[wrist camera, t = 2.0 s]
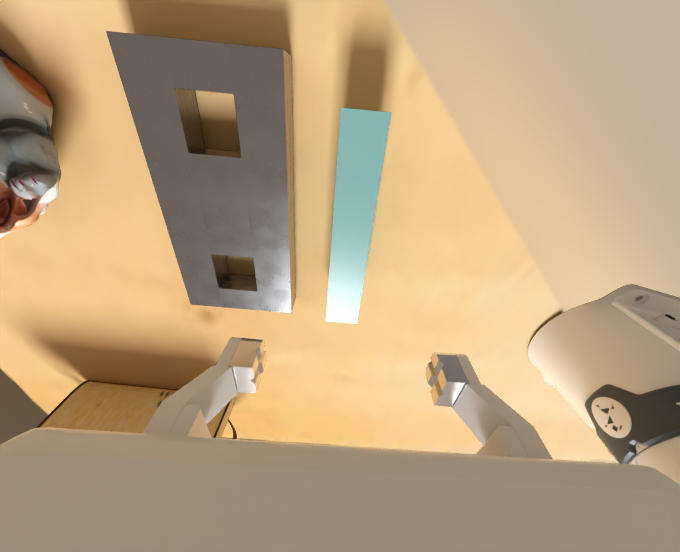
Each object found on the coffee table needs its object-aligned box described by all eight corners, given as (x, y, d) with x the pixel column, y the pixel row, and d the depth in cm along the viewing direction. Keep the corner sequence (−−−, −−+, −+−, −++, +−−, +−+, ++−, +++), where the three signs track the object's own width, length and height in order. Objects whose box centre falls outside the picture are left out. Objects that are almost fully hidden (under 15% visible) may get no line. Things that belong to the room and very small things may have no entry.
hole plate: (291, 56, 20) (283, 49, 17) (295, 297, 33) (291, 312, 31) (136, 40, 20) (106, 30, 17) (202, 289, 33) (190, 304, 30)
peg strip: (383, 111, 22) (391, 112, 18) (356, 296, 33) (356, 323, 29) (342, 107, 22) (340, 107, 18) (328, 294, 33) (325, 321, 28)
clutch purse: (92, 397, 48) (1, 498, 36) (75, 374, 44) (-33, 479, 32) (250, 413, 49) (216, 516, 37) (247, 392, 46) (208, 500, 33)
